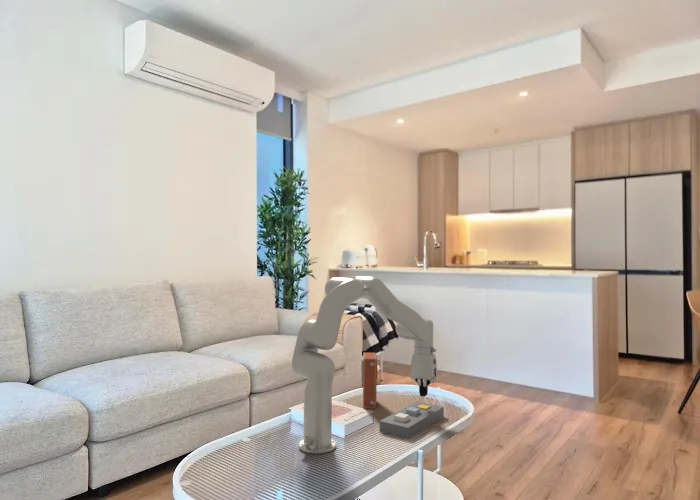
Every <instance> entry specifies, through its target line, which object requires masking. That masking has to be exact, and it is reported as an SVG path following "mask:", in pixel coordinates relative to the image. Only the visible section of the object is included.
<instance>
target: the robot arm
mask: <svg viewBox="0 0 700 500" xmlns="http://www.w3.org/2000/svg"><path fill="white" fill-rule="evenodd" d="M324 292H325V294H326V295H325V296H324V298H323V299H322V301H321V303H320V305H319V308H318V313H317V316H316V319H308V320H307V321H304V323H303V324H301V326H300V328H299V330H298V333H297V337H296V341H295V345H294V350H293V354H292V359H291V365H292V366H291V368H292V370H293V372H294V373H295V374H296V375H297V376H300V377H301V378H304V379H306V380H307V381H306V385H305V388H304V393H303V439H301V440H300V441H299V442H298V448H299V450H301V451H302V452H304V453H308V454H317V455H318V454H325V453H329V452H332V451H333V450H334V449H336V447H337V442H336V441H335V440H334V439H333V438H332V419H333V418H332V417H333V416H332V415H333V411H332V410H333V409H332V408H333V405H332V404H333V403H332V402H333V399H332V398H333V382H334V377H335V372H336V371H335V370H336V367H335V363H334V361H333V359H332V358H331V357H329V356H328V355H326V354H324V353H321V352H319V350H322V351H329V350H332V349H333V348H335V346H336V345H337V340H338V337H339V334H340V333H339V332H340V328H341V323H342V320H343V315H344V313H345V311H346V309H347V308H348V307H349V306H350V305H351V304H353V303H354V302H355V301H358V300H359V299H366V300H368V301H369V303H370V304H371V305H372V306H373V307H374V308H375V309H376V310H377V311H378V312H379V314H380V315H382V317H384V318H386V319H388V320H390V321H392V322H396V323H397V324H396V326H395V332H396V335H397V336H398V337H399V338H402V339H405V340H409V341H414V344H413V345H414V352H413V353H412V356H411V362H410V375H411V376H410V377H411V378H410V379H411V380H413V381H415V382H416V383H417V386H418V393H419V397H422V398H424V397H426V396H427V395H428V391H429V387H428V386H429V385H431V384H435V383H437V377H438V365H437V357H436V352H437V349H436V348H434V323H433V321H432V320H431V319H426V318H423V317H422V316H421V315H420V314H419V313H418V312H417V311H415V309H412V308H411V307H409V306H408V305H406V304H405V303H404V302H402V301H400V300H399V299H398V298H397V297H396V296H395V295H394V294H393V292H392V291H391V290H390V289H389V288H388V287H387V285H386V284H385V283H384V282H383V281H382V279H380V278H378V277H376V276H369V275H367V276H366V275H356V276H355V275H354V276H338V277H337V276H335V277H331V278H330V279H328V280H327V282H326V283H325V286H324Z"/></svg>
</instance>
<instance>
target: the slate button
mask: <svg viewBox="0 0 700 500" xmlns="http://www.w3.org/2000/svg"><path fill="white" fill-rule="evenodd" d="M406 414H407V415H411V416H418V415H419V414H420V409H419V408H414V407H410V408H408V409H406Z"/></svg>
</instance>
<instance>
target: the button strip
mask: <svg viewBox="0 0 700 500" xmlns="http://www.w3.org/2000/svg"><path fill="white" fill-rule="evenodd" d="M421 404H422V405H427V406H430V409H428V410H422V409H420V414H419V415H418V416H411V415H409V421H407V422H405V423H402V422H398V421H394V416H395V415H397V414H398V413H403V414H406V409H408V408H410V407H414V408H417V407H418V406H419V405H421ZM444 409H445V408H444V406H441V405H435V404H432V403H426V402H421V401H416V402H413V403H411V404H410V405H408V406H406V407H403V408H402V409H399V410H398V411H396V412H395V413H392V414H390V415H389V416H386V417H385V418H382V419H380V420H379V432H380V433H384V434H386V435H391V436H395V437H399V438H403V439H406V438H407V440H409V439H411V438H412V437H414V436H415V435H417V434H419V433H420V432H421V431H423V430H425V429H427V428H428V427H430V426H431V425H433V424H434V423H436V422H437V421H440V420H441V419H442V418H443V417H444V416H445V415H444V414H445V413H444ZM410 437H411V438H410Z"/></svg>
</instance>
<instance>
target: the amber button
mask: <svg viewBox="0 0 700 500" xmlns="http://www.w3.org/2000/svg"><path fill="white" fill-rule="evenodd" d="M417 408H419V409H422V410H428V409H430V406H427V405H422V404H421V405H419V406H418V407H417Z"/></svg>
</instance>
